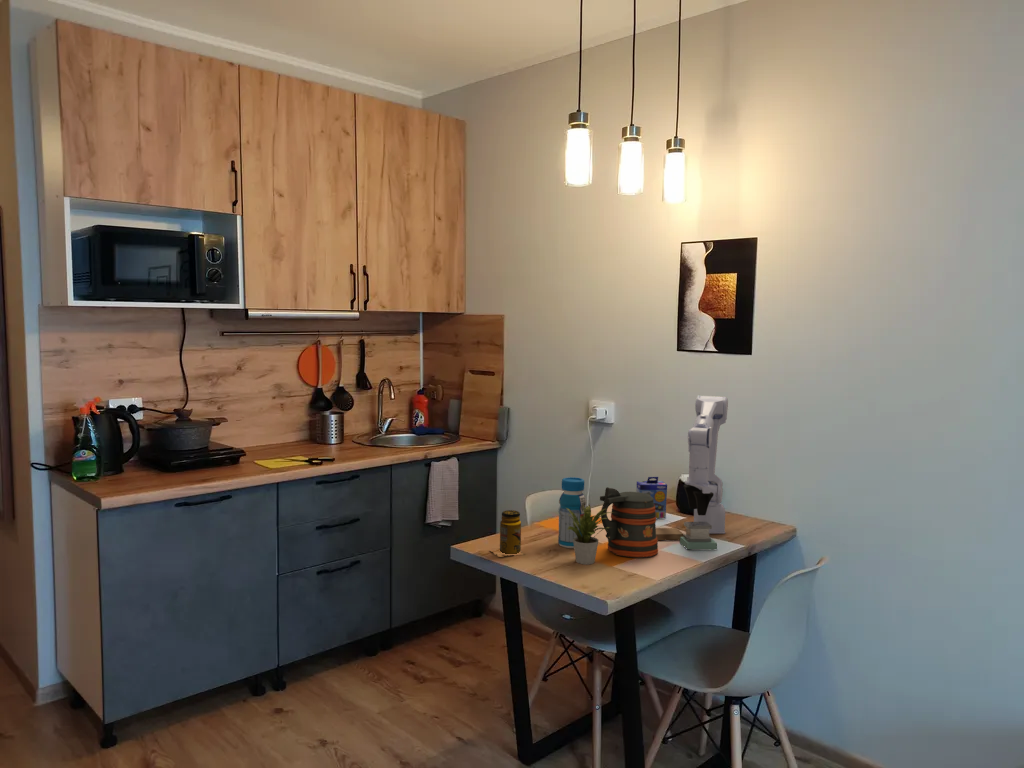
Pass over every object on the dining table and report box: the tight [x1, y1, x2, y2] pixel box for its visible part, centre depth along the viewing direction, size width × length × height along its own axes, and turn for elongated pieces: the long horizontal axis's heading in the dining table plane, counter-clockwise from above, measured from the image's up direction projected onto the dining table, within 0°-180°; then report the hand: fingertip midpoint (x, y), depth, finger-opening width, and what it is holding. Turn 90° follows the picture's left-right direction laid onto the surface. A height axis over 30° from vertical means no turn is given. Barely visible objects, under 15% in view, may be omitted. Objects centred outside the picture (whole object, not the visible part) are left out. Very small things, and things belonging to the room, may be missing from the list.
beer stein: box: [599, 487, 659, 559], centre depth 216 cm, size 19×15×20 cm
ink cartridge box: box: [635, 476, 668, 519], centre depth 258 cm, size 10×6×14 cm, turn 96°
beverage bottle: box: [557, 476, 587, 549], centre depth 223 cm, size 8×8×20 cm
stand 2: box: [679, 537, 718, 550], centre depth 224 cm, size 9×7×2 cm
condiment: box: [499, 509, 522, 554], centre depth 214 cm, size 7×8×12 cm
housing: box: [683, 521, 712, 542], centre depth 223 cm, size 7×4×5 cm, turn 95°
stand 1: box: [656, 527, 685, 541], centre depth 233 cm, size 9×7×2 cm
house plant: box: [566, 504, 614, 566], centre depth 206 cm, size 14×14×16 cm
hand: (697, 511), depth 224 cm, fingers open, 7 cm apart
